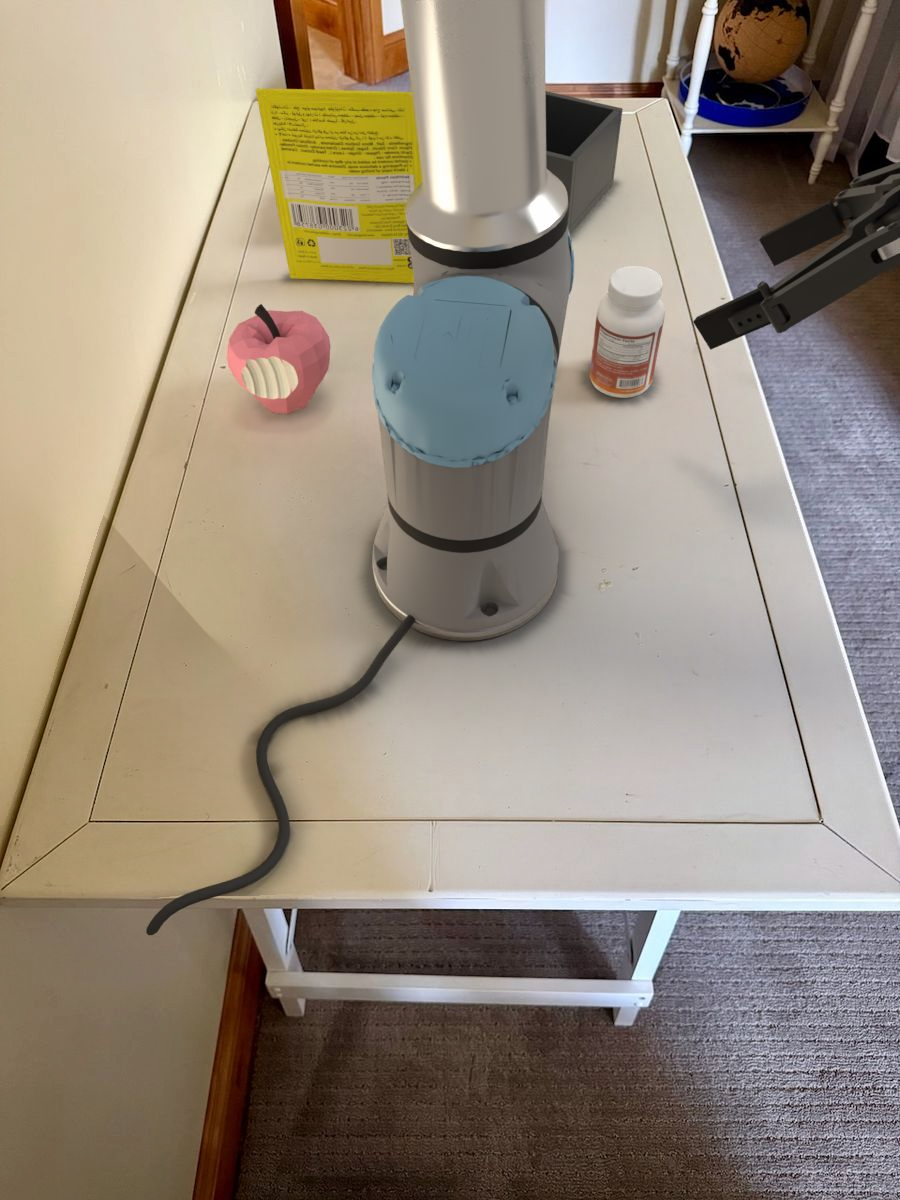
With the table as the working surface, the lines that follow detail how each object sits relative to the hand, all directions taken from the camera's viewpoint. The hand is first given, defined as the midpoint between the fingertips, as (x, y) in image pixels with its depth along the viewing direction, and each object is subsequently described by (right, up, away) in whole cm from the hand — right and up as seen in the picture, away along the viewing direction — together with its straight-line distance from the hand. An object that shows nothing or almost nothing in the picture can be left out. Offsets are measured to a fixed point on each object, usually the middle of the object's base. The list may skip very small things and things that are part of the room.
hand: (736, 290), depth 75 cm
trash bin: (-13, +23, +34) cm, 43 cm away
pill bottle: (-7, -4, +14) cm, 16 cm away
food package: (-34, +9, +25) cm, 43 cm away
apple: (-40, -7, +13) cm, 42 cm away
